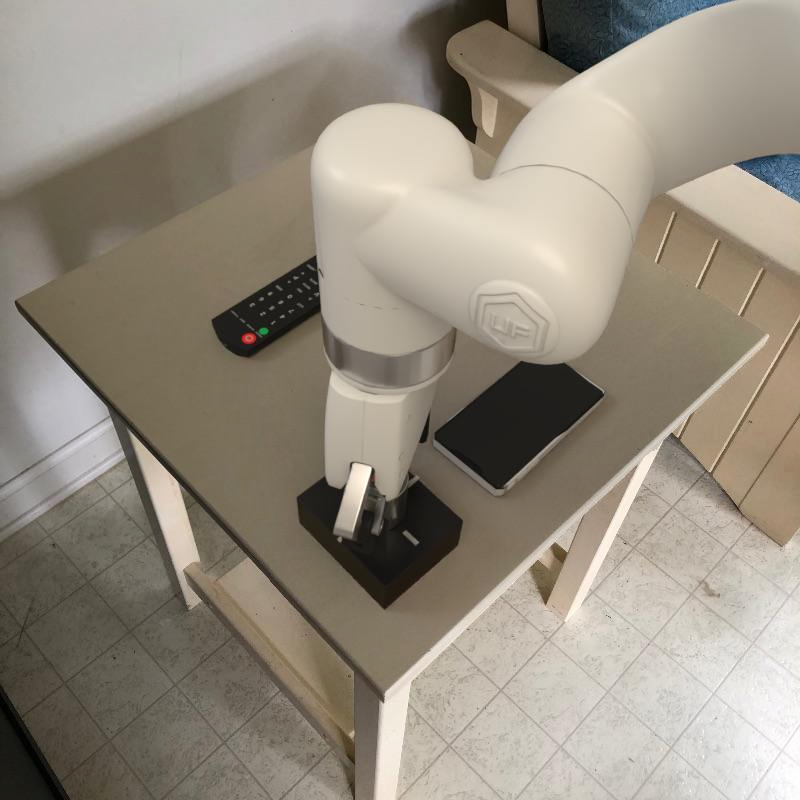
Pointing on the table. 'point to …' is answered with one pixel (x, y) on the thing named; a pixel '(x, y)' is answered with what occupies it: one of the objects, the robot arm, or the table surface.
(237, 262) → the table surface
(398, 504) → the dimmer knob
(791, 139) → the robot arm
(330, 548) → the dimmer panel
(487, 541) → the table surface
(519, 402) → the smartphone
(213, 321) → the remote control
